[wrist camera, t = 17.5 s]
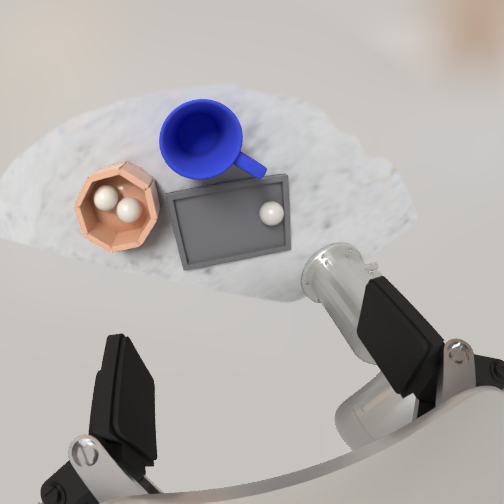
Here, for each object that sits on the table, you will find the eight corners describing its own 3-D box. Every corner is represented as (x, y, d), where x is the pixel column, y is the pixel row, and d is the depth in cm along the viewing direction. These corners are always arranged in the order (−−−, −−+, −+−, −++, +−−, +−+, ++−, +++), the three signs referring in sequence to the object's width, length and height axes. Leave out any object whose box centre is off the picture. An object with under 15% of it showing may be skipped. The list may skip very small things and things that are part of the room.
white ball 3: (278, 196, 40) (286, 204, 37) (280, 218, 42) (287, 227, 39) (255, 200, 39) (261, 208, 36) (257, 221, 41) (263, 231, 38)
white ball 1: (121, 181, 33) (106, 183, 30) (124, 206, 34) (110, 210, 31) (101, 186, 34) (86, 188, 30) (105, 210, 34) (90, 214, 31)
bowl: (150, 154, 33) (144, 161, 29) (165, 226, 38) (163, 241, 34) (80, 174, 32) (67, 183, 27) (100, 240, 37) (91, 257, 33)
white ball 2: (130, 187, 33) (146, 201, 33) (131, 204, 36) (146, 218, 36) (110, 201, 31) (126, 216, 31) (112, 217, 34) (128, 232, 34)
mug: (232, 185, 38) (247, 209, 29) (155, 146, 33) (144, 158, 24) (263, 136, 35) (288, 145, 27) (186, 92, 30) (186, 84, 22)
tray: (285, 173, 39) (287, 175, 38) (288, 245, 45) (290, 249, 44) (166, 193, 36) (166, 195, 35) (183, 266, 42) (183, 270, 41)
